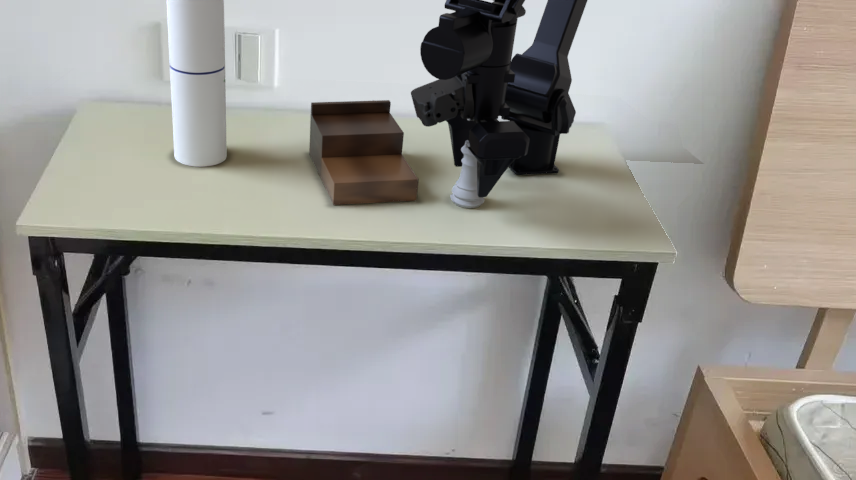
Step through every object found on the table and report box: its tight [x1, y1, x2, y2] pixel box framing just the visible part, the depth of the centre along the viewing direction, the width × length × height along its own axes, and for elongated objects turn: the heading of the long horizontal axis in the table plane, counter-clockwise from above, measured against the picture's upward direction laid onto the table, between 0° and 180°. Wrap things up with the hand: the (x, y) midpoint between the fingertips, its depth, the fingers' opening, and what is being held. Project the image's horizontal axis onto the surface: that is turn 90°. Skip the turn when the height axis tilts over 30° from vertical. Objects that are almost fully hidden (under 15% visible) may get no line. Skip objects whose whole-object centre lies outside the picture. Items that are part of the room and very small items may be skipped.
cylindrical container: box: [165, 0, 228, 168], centre depth 125 cm, size 7×7×25 cm
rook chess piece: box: [449, 140, 485, 209], centre depth 122 cm, size 4×4×8 cm
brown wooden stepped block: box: [308, 99, 419, 206], centre depth 127 cm, size 11×16×8 cm
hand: (469, 181), depth 123 cm, fingers open, 9 cm apart
